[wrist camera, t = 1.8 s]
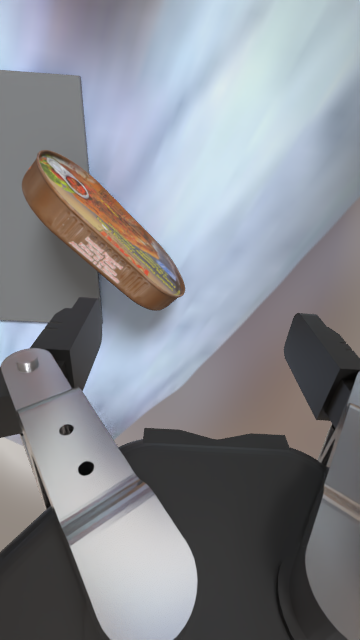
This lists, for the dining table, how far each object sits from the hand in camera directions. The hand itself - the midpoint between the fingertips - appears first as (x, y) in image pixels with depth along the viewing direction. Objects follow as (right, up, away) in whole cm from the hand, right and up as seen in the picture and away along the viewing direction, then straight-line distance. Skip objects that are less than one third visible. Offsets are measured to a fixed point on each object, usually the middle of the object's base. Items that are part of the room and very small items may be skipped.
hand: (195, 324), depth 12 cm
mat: (-17, +10, +16) cm, 25 cm away
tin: (-6, +9, +16) cm, 19 cm away
